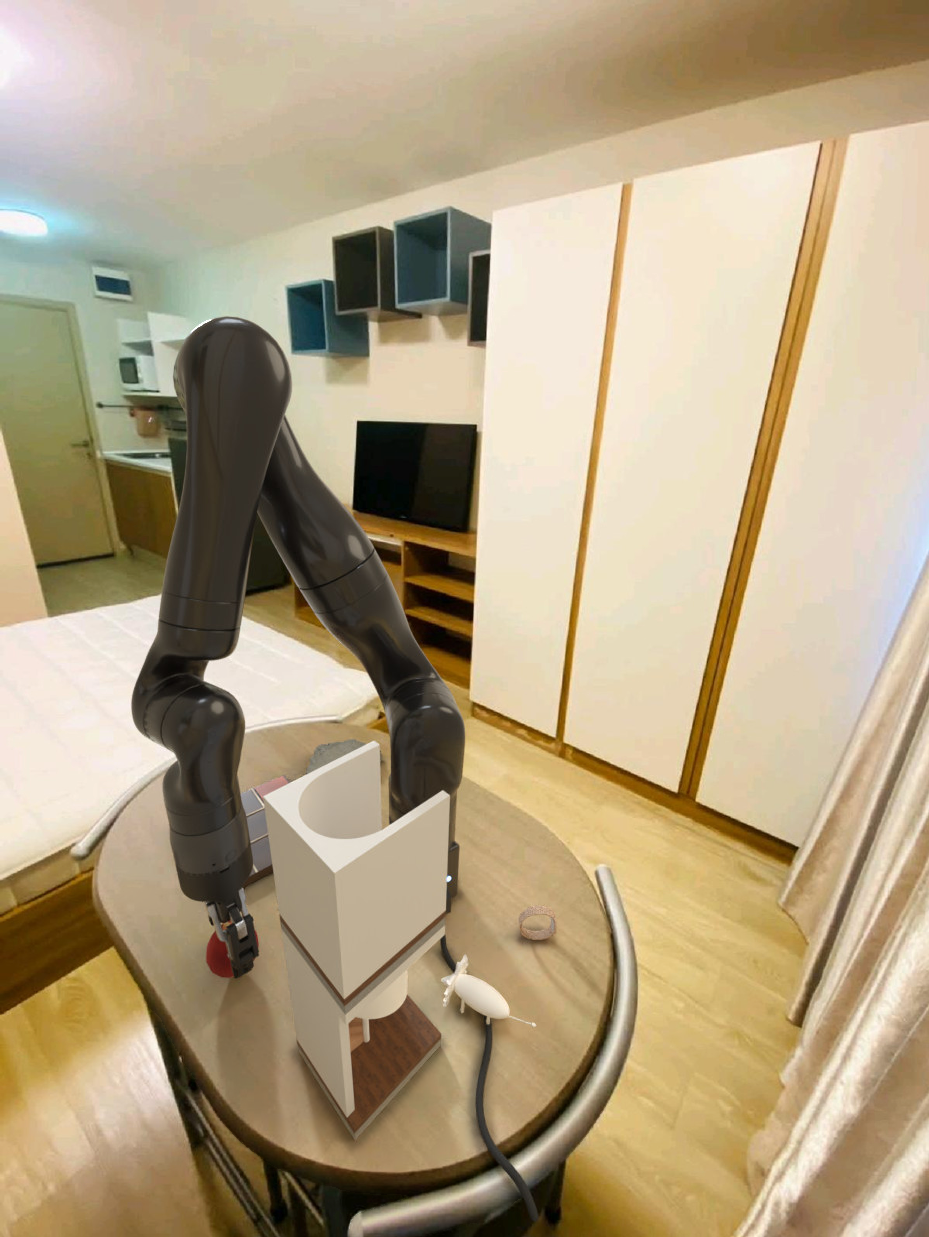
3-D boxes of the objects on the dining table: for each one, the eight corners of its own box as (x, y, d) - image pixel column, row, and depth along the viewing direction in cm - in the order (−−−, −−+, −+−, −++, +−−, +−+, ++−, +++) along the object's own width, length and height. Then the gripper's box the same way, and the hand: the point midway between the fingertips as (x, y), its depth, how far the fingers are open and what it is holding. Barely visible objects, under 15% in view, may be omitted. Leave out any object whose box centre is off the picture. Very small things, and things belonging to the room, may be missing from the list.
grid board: (332, 839, 84) (331, 831, 83) (215, 903, 73) (213, 894, 72) (284, 781, 96) (283, 773, 95) (178, 827, 85) (176, 819, 84)
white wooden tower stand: (355, 1140, 50) (334, 873, 37) (297, 1050, 57) (263, 796, 43) (440, 1045, 58) (449, 795, 44) (381, 975, 64) (374, 740, 51)
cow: (430, 1007, 61) (431, 981, 59) (454, 969, 65) (455, 943, 64) (523, 1071, 56) (527, 1044, 54) (542, 1025, 60) (547, 998, 58)
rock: (282, 776, 97) (280, 755, 95) (349, 739, 109) (349, 720, 107) (322, 806, 90) (321, 784, 89) (389, 763, 102) (389, 743, 101)
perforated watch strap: (554, 945, 69) (558, 918, 67) (518, 944, 69) (521, 918, 67) (551, 926, 71) (554, 900, 69) (516, 925, 71) (519, 899, 69)
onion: (267, 945, 67) (260, 901, 64) (252, 992, 62) (244, 946, 59) (221, 946, 67) (212, 901, 64) (202, 992, 62) (191, 947, 59)
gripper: (157, 820, 59) (180, 920, 65) (195, 908, 49) (218, 1015, 56) (225, 792, 64) (241, 888, 70) (272, 867, 54) (285, 971, 60)
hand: (231, 944), depth 63 cm, fingers open, 8 cm apart
